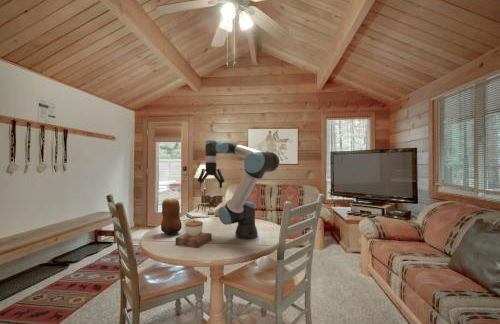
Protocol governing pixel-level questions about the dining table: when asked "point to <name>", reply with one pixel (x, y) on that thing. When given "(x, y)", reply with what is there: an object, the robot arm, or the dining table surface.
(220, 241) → the dining table surface
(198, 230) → the lidded jar
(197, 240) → the plinth
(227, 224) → the robot arm
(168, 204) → the butternut squash
